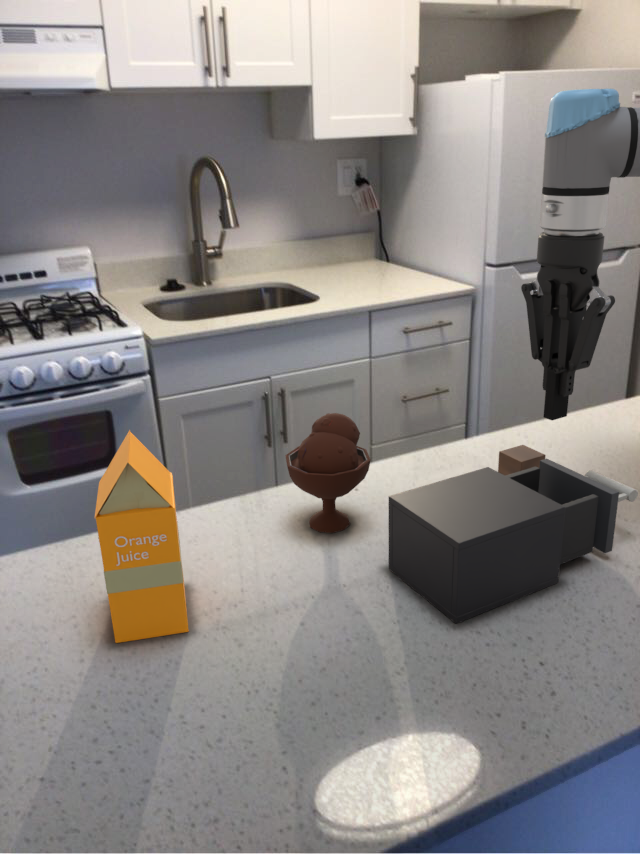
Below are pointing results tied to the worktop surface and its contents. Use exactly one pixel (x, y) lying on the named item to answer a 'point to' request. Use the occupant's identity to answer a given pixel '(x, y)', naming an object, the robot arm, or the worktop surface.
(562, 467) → the dark grey drawer
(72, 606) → the worktop surface
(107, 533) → the orange juice
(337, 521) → the ice cream bowl
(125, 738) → the worktop surface
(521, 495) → the dark grey cuboid
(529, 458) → the block
